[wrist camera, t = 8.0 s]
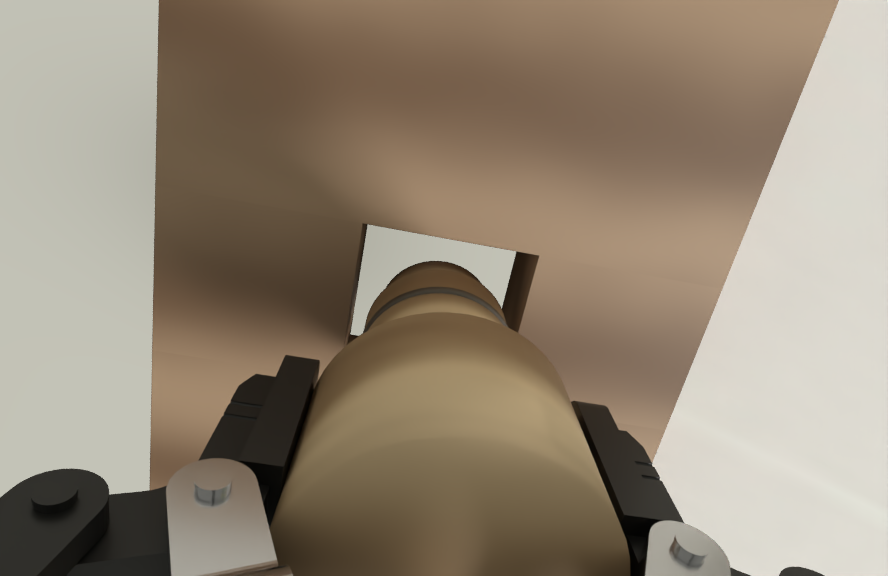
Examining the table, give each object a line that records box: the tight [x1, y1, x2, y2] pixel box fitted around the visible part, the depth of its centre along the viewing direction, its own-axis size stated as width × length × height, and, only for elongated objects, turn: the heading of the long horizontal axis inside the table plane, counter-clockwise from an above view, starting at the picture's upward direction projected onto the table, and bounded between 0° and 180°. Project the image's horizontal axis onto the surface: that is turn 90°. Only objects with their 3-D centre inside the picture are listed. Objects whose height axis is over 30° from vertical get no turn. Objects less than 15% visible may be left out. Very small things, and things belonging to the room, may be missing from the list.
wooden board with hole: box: [150, 0, 839, 490], centre depth 19 cm, size 22×16×3 cm
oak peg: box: [270, 261, 630, 576], centre depth 14 cm, size 6×6×10 cm
